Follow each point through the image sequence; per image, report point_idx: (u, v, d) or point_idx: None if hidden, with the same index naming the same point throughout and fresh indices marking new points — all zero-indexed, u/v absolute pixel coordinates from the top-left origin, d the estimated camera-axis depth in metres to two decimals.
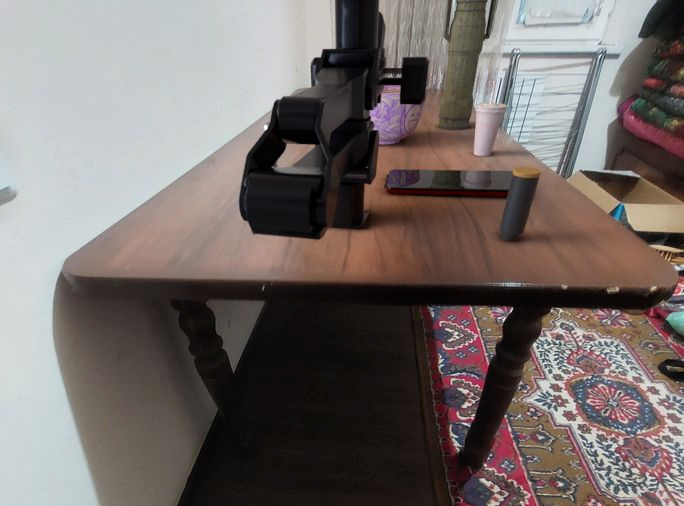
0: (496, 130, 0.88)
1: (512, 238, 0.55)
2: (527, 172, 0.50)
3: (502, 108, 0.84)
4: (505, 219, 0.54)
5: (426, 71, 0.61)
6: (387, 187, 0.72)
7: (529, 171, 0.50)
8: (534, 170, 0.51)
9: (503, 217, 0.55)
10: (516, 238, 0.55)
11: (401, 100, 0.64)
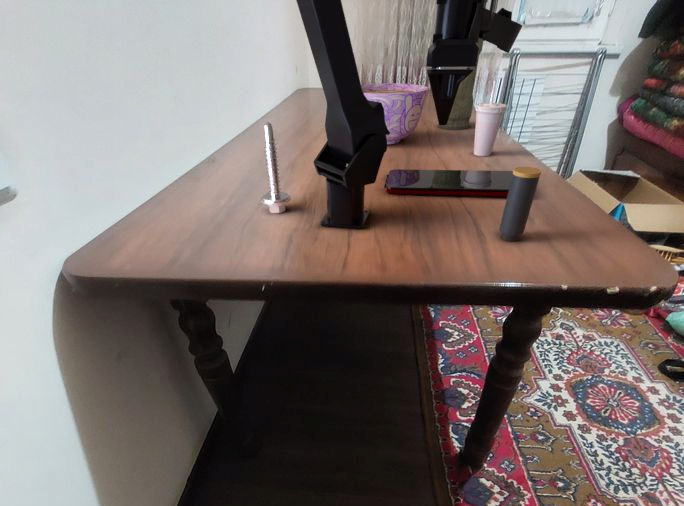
0: (496, 130, 0.88)
1: (512, 238, 0.55)
2: (527, 172, 0.50)
3: (502, 108, 0.84)
4: (505, 219, 0.54)
5: (465, 43, 0.49)
6: (387, 187, 0.72)
7: (529, 171, 0.50)
8: (534, 170, 0.51)
9: (503, 217, 0.55)
10: (516, 238, 0.55)
11: None
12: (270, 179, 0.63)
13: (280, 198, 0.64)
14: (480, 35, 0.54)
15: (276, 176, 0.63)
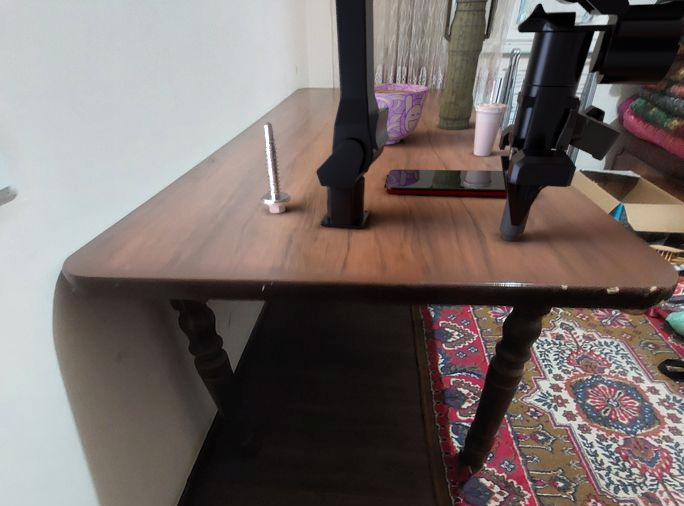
0: (496, 130, 0.88)
1: (512, 238, 0.55)
2: None
3: (502, 108, 0.84)
4: (505, 219, 0.54)
5: (560, 162, 0.42)
6: (387, 187, 0.72)
7: None
8: None
9: (503, 217, 0.55)
10: (516, 238, 0.55)
11: (518, 152, 0.45)
12: (270, 179, 0.63)
13: (280, 198, 0.64)
14: (570, 141, 0.46)
15: (276, 176, 0.63)
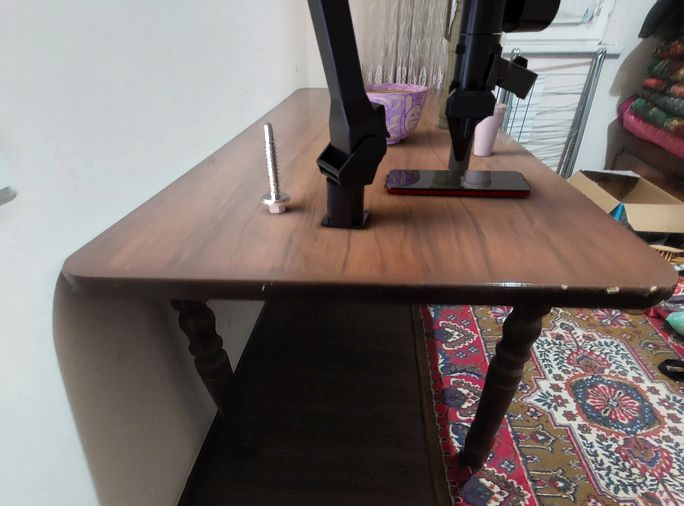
0: (496, 130, 0.88)
1: (458, 174, 0.65)
2: None
3: (502, 108, 0.84)
4: (451, 156, 0.64)
5: (483, 94, 0.51)
6: (387, 187, 0.72)
7: None
8: None
9: (450, 155, 0.64)
10: (462, 174, 0.65)
11: (452, 90, 0.54)
12: (270, 179, 0.63)
13: (280, 198, 0.64)
14: (497, 83, 0.56)
15: (276, 176, 0.63)
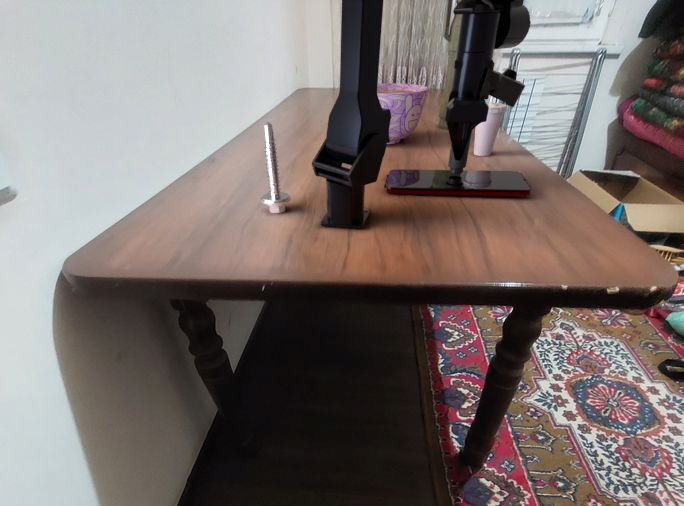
0: (496, 130, 0.88)
1: (457, 171, 0.74)
2: None
3: (502, 108, 0.84)
4: (451, 156, 0.73)
5: (477, 103, 0.60)
6: (387, 187, 0.72)
7: None
8: None
9: (450, 155, 0.73)
10: (460, 171, 0.74)
11: (451, 99, 0.64)
12: (270, 179, 0.63)
13: (280, 198, 0.64)
14: (490, 93, 0.65)
15: (276, 176, 0.63)
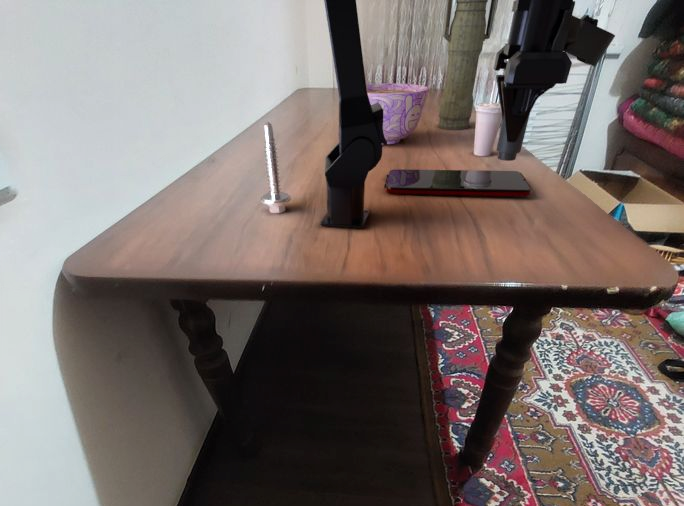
0: (496, 130, 0.88)
1: (509, 157, 0.56)
2: None
3: None
4: (502, 137, 0.55)
5: (556, 56, 0.42)
6: (387, 187, 0.72)
7: None
8: None
9: (500, 135, 0.55)
10: (513, 157, 0.56)
11: (514, 54, 0.46)
12: (270, 179, 0.63)
13: (280, 198, 0.64)
14: (564, 46, 0.47)
15: (276, 176, 0.63)
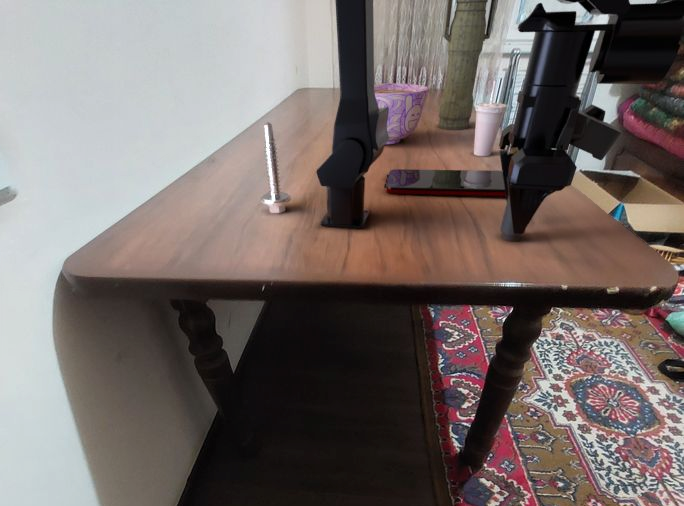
0: (496, 130, 0.88)
1: (513, 238, 0.55)
2: None
3: (502, 108, 0.84)
4: (506, 219, 0.54)
5: (561, 162, 0.42)
6: (387, 187, 0.72)
7: None
8: None
9: (504, 217, 0.55)
10: (517, 238, 0.55)
11: (518, 151, 0.45)
12: (270, 179, 0.63)
13: (280, 198, 0.64)
14: (570, 141, 0.46)
15: (276, 176, 0.63)
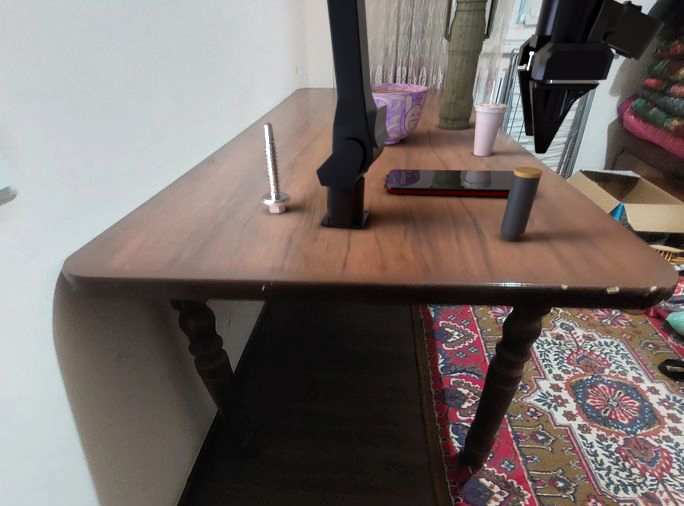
0: (496, 130, 0.88)
1: (513, 238, 0.55)
2: (528, 172, 0.50)
3: (502, 108, 0.84)
4: (506, 219, 0.54)
5: (596, 48, 0.36)
6: (387, 187, 0.72)
7: (530, 171, 0.50)
8: (535, 170, 0.51)
9: (504, 217, 0.55)
10: (517, 238, 0.55)
11: (544, 46, 0.39)
12: (270, 179, 0.63)
13: (280, 198, 0.64)
14: (603, 37, 0.40)
15: (276, 176, 0.63)
